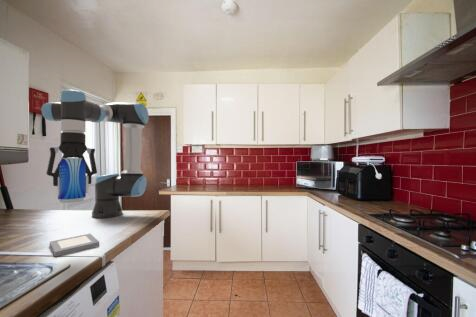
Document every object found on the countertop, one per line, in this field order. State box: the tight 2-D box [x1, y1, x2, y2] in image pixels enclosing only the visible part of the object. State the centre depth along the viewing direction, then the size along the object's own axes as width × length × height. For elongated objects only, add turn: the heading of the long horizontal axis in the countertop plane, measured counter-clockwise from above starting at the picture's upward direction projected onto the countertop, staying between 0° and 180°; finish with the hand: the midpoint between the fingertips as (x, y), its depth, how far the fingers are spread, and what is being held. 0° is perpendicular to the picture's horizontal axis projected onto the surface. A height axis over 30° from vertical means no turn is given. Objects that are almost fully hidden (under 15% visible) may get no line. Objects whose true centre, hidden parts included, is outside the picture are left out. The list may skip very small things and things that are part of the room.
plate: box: [49, 233, 100, 257], centre depth 85 cm, size 13×13×2 cm
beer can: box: [57, 157, 87, 204], centre depth 85 cm, size 8×8×16 cm
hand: (72, 193), depth 85 cm, fingers closed on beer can, 8 cm apart
